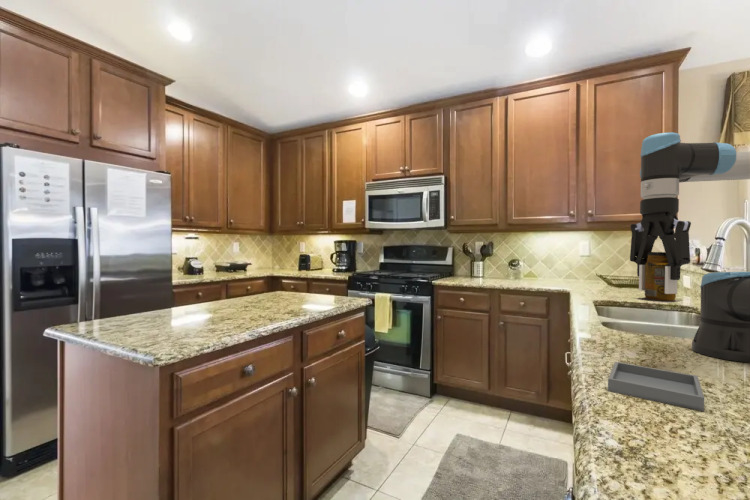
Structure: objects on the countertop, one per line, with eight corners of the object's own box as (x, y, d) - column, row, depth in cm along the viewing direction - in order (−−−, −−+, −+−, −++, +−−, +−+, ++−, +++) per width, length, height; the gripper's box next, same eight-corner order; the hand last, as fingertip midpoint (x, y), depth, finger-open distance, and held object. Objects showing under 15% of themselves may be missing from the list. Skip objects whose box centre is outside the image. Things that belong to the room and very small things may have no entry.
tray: (614, 372, 86) (615, 361, 86) (697, 387, 77) (697, 375, 77) (607, 390, 74) (608, 378, 74) (703, 411, 65) (704, 397, 65)
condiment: (682, 301, 89) (683, 252, 89) (669, 303, 84) (669, 252, 84) (647, 297, 95) (648, 251, 95) (633, 299, 90) (633, 251, 90)
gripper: (613, 202, 98) (612, 287, 98) (686, 192, 80) (684, 297, 80) (637, 203, 100) (635, 287, 100) (714, 193, 81) (711, 296, 81)
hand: (657, 291), depth 90 cm, fingers closed on condiment, 6 cm apart
